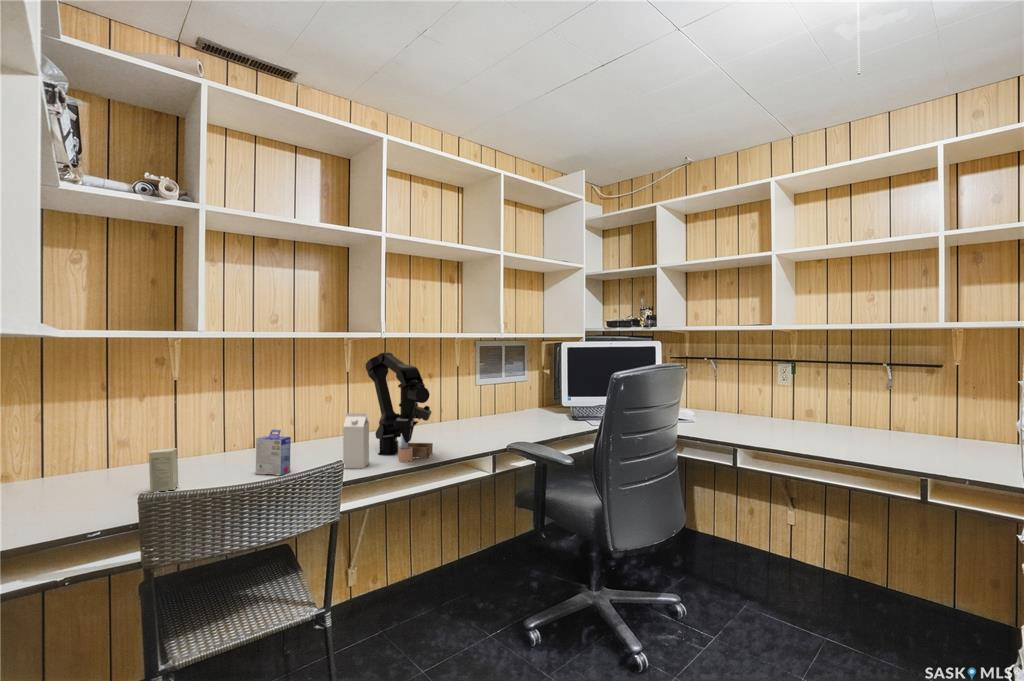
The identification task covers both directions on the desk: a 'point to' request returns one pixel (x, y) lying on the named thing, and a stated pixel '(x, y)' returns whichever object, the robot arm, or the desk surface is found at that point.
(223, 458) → the desk surface
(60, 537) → the desk surface
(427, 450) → the walnut tray
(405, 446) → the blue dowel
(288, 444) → the ink cartridge box
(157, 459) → the skincare box
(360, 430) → the milk carton
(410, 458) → the terracotta pot
